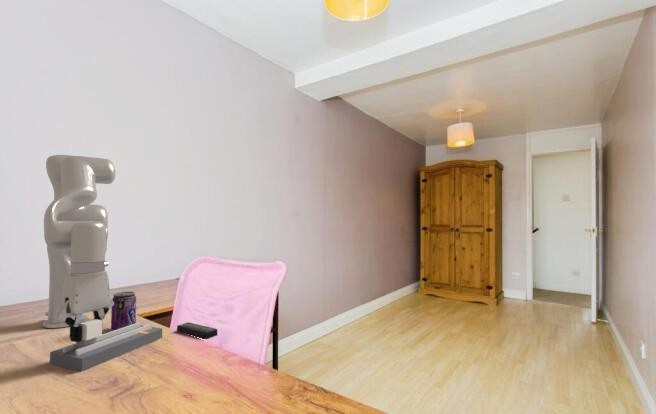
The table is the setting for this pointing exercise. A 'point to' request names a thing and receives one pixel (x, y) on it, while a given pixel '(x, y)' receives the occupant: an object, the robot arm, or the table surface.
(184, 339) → the table surface
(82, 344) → the fader knob
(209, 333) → the multiport hub
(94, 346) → the fader console
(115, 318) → the beverage can
